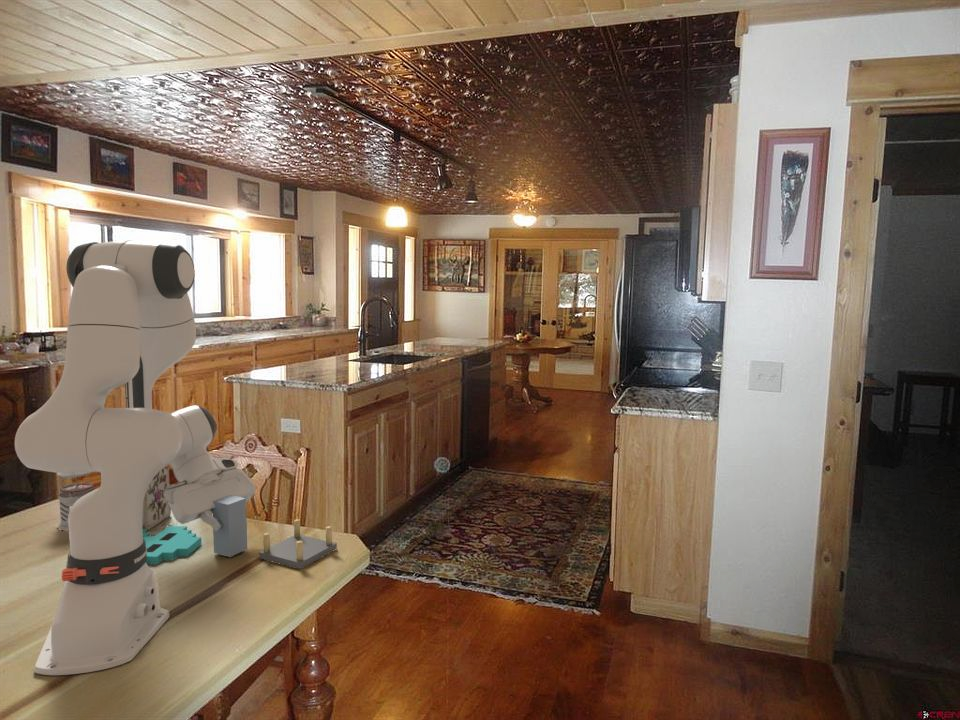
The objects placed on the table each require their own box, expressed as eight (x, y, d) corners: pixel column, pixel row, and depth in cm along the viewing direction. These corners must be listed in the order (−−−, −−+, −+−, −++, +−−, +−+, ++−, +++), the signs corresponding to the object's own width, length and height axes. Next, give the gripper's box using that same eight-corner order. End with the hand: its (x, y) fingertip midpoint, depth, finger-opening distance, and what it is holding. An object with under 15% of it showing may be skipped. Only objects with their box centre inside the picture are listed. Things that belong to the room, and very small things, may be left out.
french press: (67, 534, 153) (60, 433, 150) (45, 524, 159) (38, 427, 156) (109, 522, 161) (103, 426, 158) (86, 513, 167) (81, 421, 164)
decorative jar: (147, 532, 154) (143, 461, 152) (101, 531, 155) (97, 460, 153) (172, 515, 166) (169, 448, 164) (129, 514, 167) (126, 448, 165)
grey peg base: (336, 549, 145) (336, 526, 144) (300, 569, 134) (299, 544, 133) (297, 540, 150) (296, 517, 149) (259, 558, 139) (258, 534, 139)
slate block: (229, 557, 139) (228, 504, 138) (214, 552, 141) (212, 501, 140) (247, 549, 143) (245, 498, 142) (231, 545, 145) (230, 494, 144)
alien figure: (80, 569, 134) (172, 571, 134) (80, 559, 134) (172, 561, 134) (133, 534, 154) (214, 535, 154) (133, 525, 154) (213, 526, 153)
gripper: (166, 479, 134) (199, 531, 131) (241, 458, 152) (272, 503, 149) (153, 496, 136) (185, 548, 133) (228, 473, 155) (258, 518, 151)
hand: (231, 524), depth 141 cm, fingers closed on slate block, 5 cm apart
